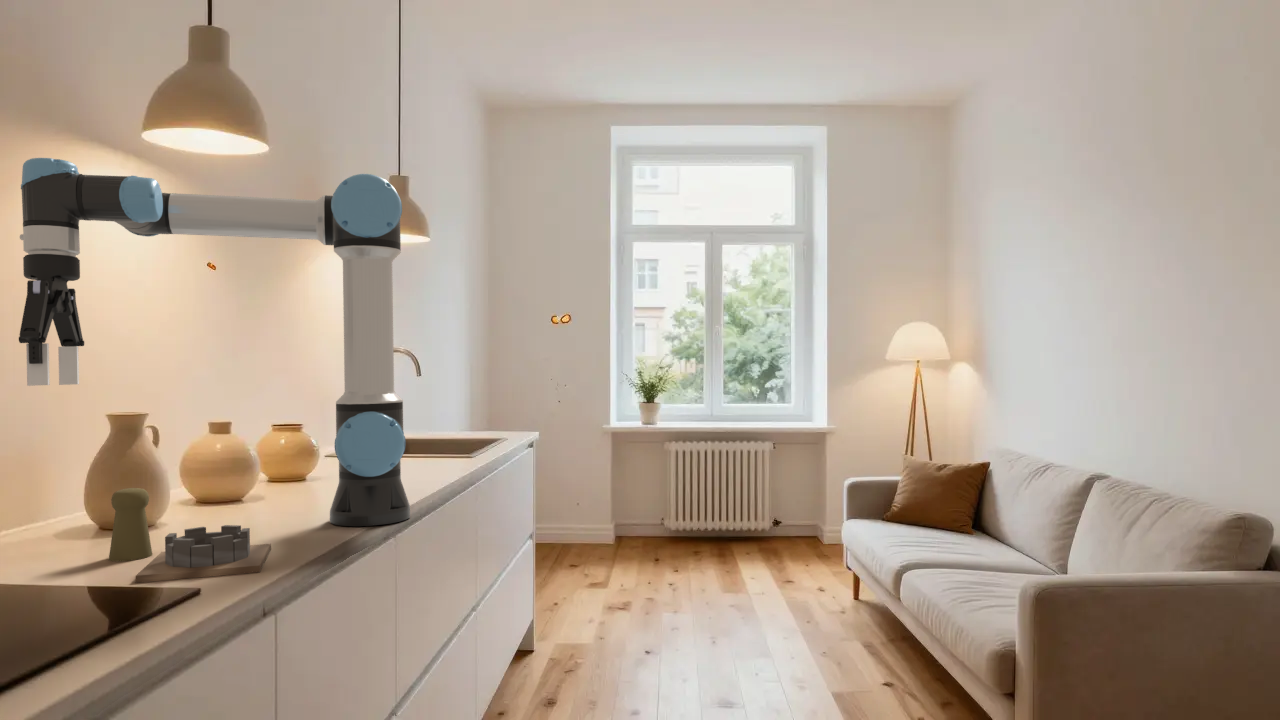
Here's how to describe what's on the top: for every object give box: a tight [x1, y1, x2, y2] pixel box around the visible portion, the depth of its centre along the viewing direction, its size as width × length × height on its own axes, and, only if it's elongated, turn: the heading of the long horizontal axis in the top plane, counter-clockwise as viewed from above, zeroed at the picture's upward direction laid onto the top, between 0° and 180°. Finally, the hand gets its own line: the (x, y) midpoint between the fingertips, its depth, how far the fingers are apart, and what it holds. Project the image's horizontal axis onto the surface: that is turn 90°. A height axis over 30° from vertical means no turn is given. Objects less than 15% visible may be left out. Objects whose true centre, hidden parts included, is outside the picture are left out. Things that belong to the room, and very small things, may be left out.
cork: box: [108, 487, 153, 562], centre depth 132 cm, size 6×6×11 cm
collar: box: [135, 524, 272, 584], centre depth 126 cm, size 16×16×5 cm
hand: (54, 385), depth 134 cm, fingers open, 13 cm apart
